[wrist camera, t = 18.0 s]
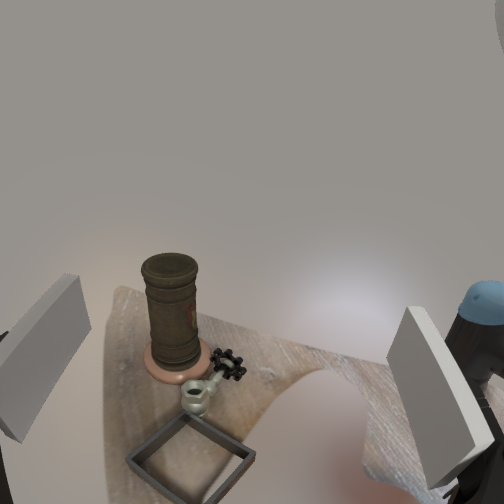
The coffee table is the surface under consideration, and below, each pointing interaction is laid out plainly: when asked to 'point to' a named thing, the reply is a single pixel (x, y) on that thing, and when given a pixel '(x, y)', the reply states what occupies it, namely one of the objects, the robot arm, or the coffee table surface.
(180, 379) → the peach soap bar
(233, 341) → the coffee table surface
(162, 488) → the collar
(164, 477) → the coffee table surface
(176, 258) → the container
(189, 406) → the valve
